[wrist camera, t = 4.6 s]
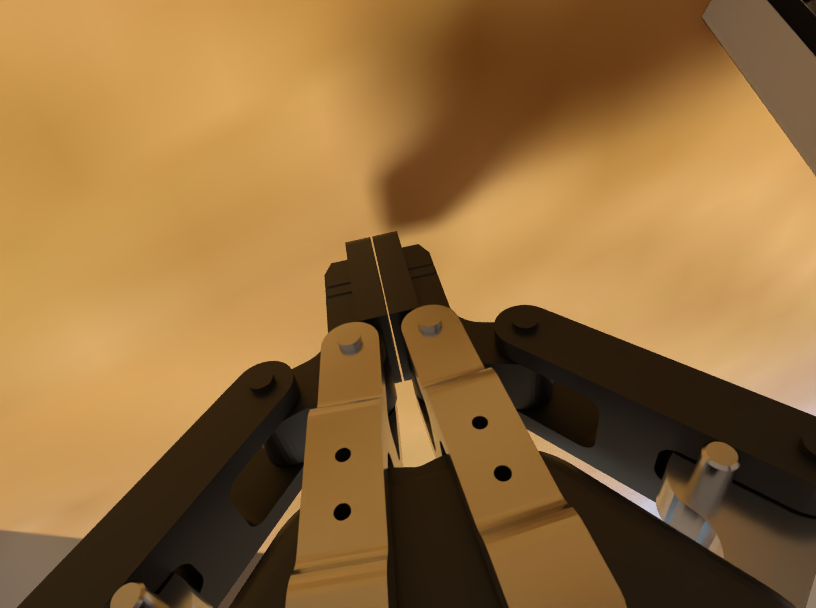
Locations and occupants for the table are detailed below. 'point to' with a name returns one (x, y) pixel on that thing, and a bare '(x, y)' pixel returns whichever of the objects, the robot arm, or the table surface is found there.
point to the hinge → (774, 59)
